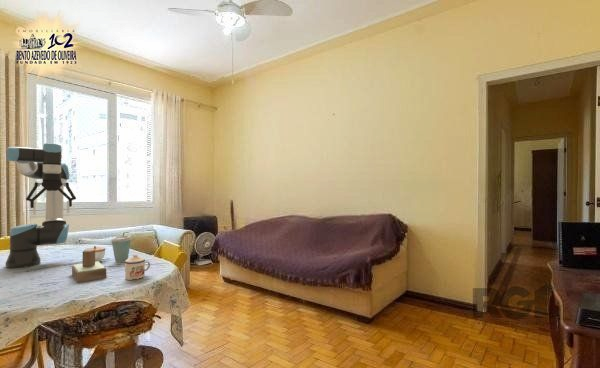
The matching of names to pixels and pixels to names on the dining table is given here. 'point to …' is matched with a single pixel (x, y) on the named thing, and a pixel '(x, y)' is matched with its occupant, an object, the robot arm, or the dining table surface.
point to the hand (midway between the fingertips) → (51, 213)
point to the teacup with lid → (135, 267)
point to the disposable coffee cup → (121, 248)
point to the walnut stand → (88, 272)
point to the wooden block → (88, 258)
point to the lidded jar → (98, 253)
